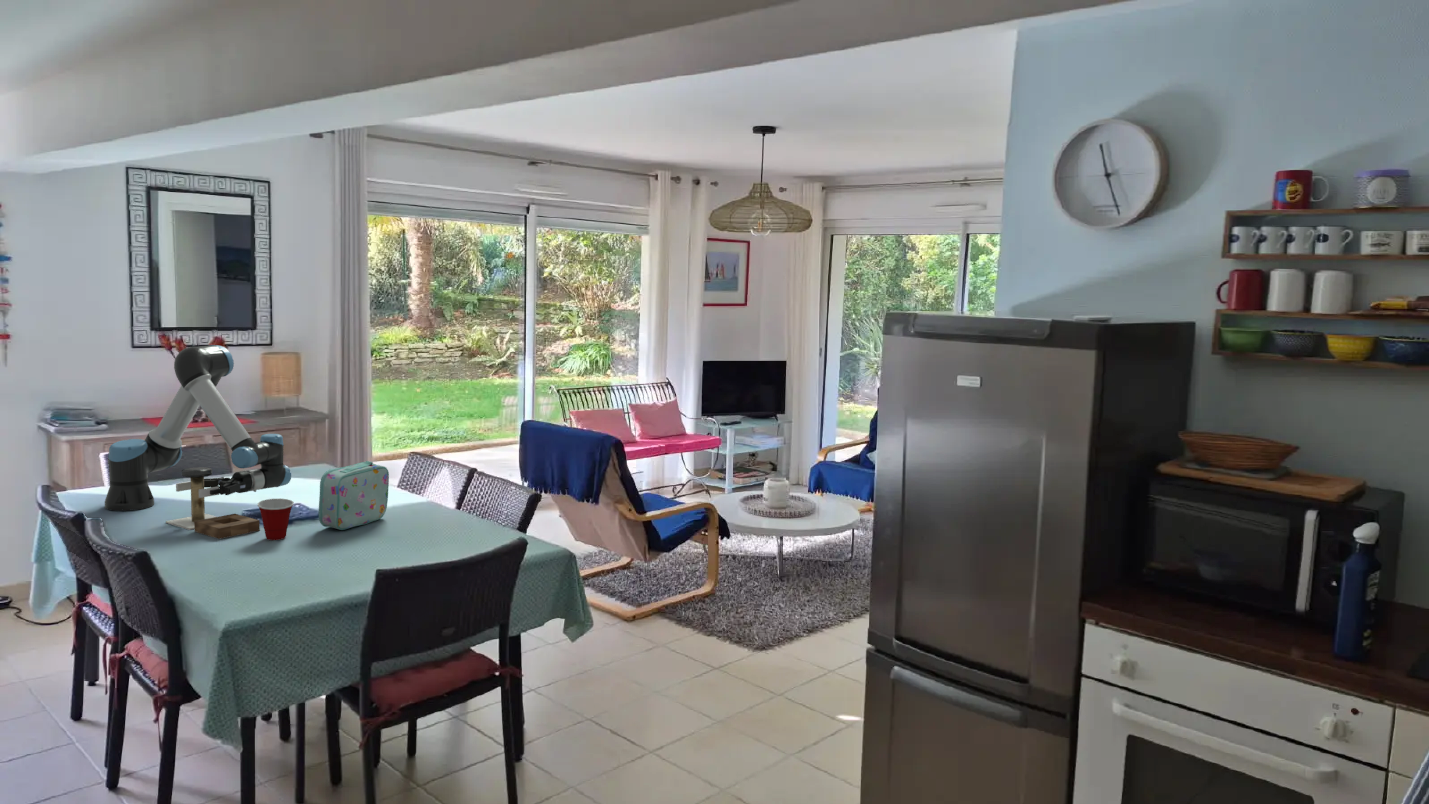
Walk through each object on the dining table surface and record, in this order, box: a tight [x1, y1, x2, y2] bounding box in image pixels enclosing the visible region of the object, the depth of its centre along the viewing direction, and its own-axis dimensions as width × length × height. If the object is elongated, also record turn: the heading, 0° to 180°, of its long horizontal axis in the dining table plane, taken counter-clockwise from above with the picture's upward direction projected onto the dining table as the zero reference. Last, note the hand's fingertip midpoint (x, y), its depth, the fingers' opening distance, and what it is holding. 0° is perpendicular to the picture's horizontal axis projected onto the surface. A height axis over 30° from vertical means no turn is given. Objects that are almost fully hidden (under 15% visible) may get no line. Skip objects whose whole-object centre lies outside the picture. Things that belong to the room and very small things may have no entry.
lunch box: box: [317, 460, 390, 531], centre depth 332 cm, size 27×10×21 cm, turn 160°
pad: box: [165, 513, 217, 531], centre depth 325 cm, size 14×14×1 cm
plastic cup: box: [256, 498, 294, 541], centre depth 310 cm, size 11×11×12 cm
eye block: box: [193, 513, 261, 540], centre depth 316 cm, size 14×14×4 cm
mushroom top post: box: [181, 466, 213, 522], centre depth 324 cm, size 9×9×18 cm
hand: (187, 490), depth 321 cm, fingers open, 13 cm apart
